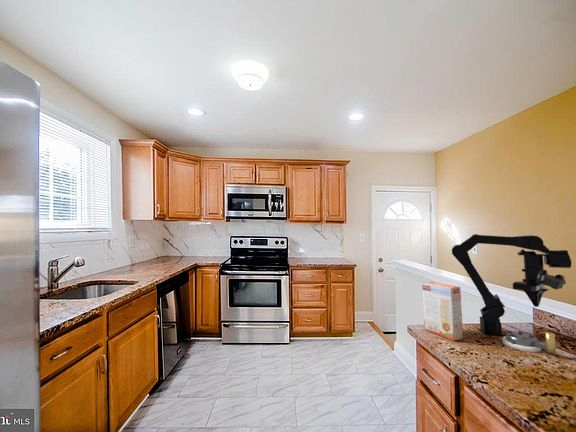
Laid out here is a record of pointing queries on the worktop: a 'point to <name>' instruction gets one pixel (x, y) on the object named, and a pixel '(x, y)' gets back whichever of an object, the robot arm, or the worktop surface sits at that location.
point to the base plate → (520, 347)
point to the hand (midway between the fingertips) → (536, 306)
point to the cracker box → (442, 310)
